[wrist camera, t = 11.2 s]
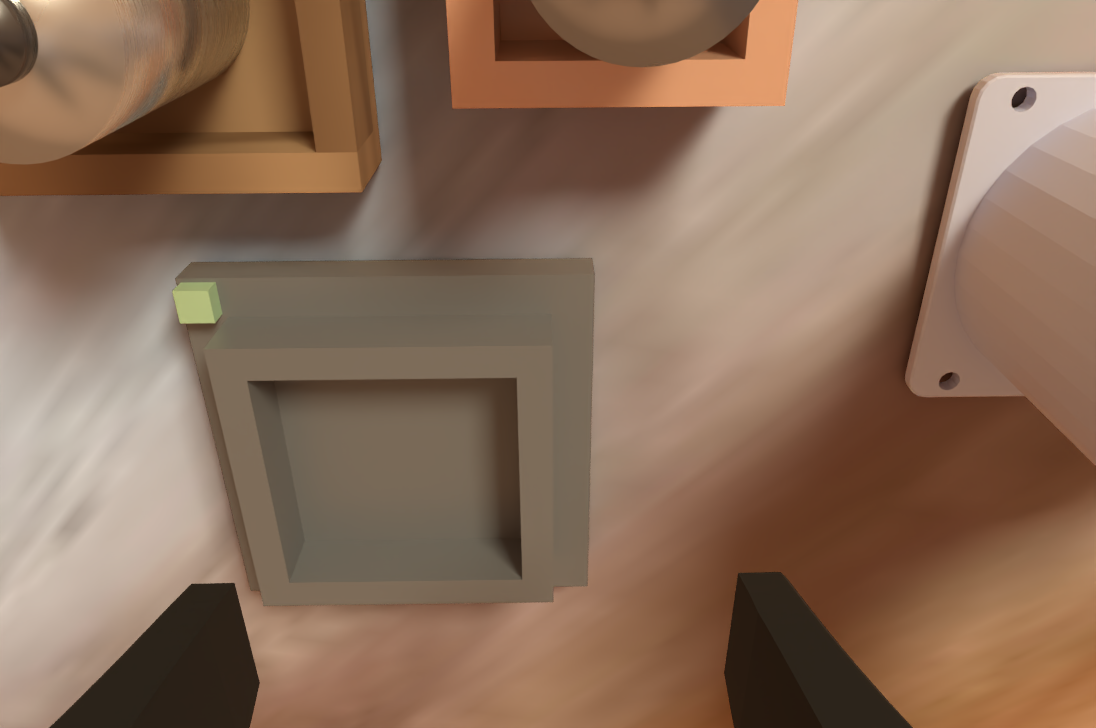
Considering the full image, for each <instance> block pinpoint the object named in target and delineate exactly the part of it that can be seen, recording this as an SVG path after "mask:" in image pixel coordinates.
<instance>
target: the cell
mask: <svg viewBox="0 0 1096 728" xmlns="http://www.w3.org/2000/svg"><path fill="white" fill-rule="evenodd" d="M249 18H250V4H249V0H0V163H7V164H25V165H27V164H37V163H45V162H49V161H53V160H57V159H60V158H62V157H65V156H67V155H70V154H72V153H74V152H76V151H78V150H80V149H82V148H84V147H85V146H87V145H89V144H91V143H93V142H95V141H97V140H99V139H101V138H103V137H105V136H106V135H108V134H110V133H112V132H114V131H116V130H118V129H120V128H122V127H124V126H125V125H127V124H129V123H131V122H133V121H135V120H137V119H139V118H141V117H143V116H144V115H146V114H148V113H150V112H152V111H154V110H156V109H158V108H160V107H162V106H164V105H165V104H167V103H169V102H171V101H173V100H175V99H177V98H179V97H181V96H183V95H184V94H186V93H188V92H190V91H192V90H194V89H196V88H198V87H200V86H202V85H203V84H205V83H207V82H209V81H211V80H213V79H214V78H216V77H218V76H219V75H220V74H222V73H223V72H224V71H225V70H226V69H228V67H229V66H230V65H231V64H232V63H233V62H234V60H235V59H236V57H237V56H238V54H239V52H240V51H241V48H242V46H243V44H244V42H245V38H246V35H247V31H248V26H249Z"/></svg>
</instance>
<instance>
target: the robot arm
mask: <svg viewBox="0 0 1096 728" xmlns="http://www.w3.org/2000/svg"><path fill="white" fill-rule="evenodd" d="M1023 87H1025V88H1026V89H1027V96H1026V98H1025V100H1024V102H1023V103H1022V104H1020V105H1019V106H1018V107H1015V108H1013V107H1012V106H1011V100H1012V98H1013V96H1014V94H1015V93H1016V92H1017V91H1018V90H1019V89H1020V88H1023ZM950 372H953V374H952V376H951V378H950V379H948V380H947V381H945V382H941V383H940V382H939V380H940V379H941V377H942V376H943V375H945V374H946V373H950ZM905 382H906V384H907V386H908V387H909V389H910V390H911V391H912V392H913V393H914V394H916V395H917V396H921V397H989V396H1025V397H1026V398H1027V399H1028V400H1029V401H1030V402H1031V403H1032V404H1033V405H1034V406H1035V407H1036V408H1037V409H1038V410H1039V411H1040V412H1041V413H1042V414H1043V415H1044V416H1045V417H1046V418H1048V419H1049V420H1050V421H1051V422H1052V423H1053V424H1054V425H1055V426H1056V427H1057V428H1058V429H1059V430H1060V431H1061V432H1062V433H1063V434H1064V435H1065V436H1066V437H1067V438H1068V439H1069V440H1070V441H1071V442H1072V443H1073V444H1074V445H1075V446H1076V447H1077V448H1078V449H1079V450H1080V451H1081V452H1082V453H1083V454H1084V455H1085V456H1086V457H1087V458H1088V459H1089V460H1090V461H1091V462H1092V463H1093V464H1094V465H1095V466H1096V72H1008V73H994V74H990V75H988V76H986V77H985V78H983V79H981V80H980V81H979V82H978V84H977V85H976V86H975V87H974V89H973V91H972V94H971V96H970V100H969V104H968V108H967V112H966V117H965V121H964V125H963V129H962V134H961V138H960V142H959V147H958V151H957V155H956V159H955V164H954V168H953V172H952V177H951V181H950V185H949V189H948V194H947V198H946V202H945V207H944V211H943V215H942V219H941V224H940V228H939V232H938V236H937V241H936V245H935V249H934V254H933V258H932V262H931V266H930V271H929V275H928V279H927V284H926V288H925V292H924V296H923V301H922V305H921V309H920V313H919V318H918V322H917V326H916V331H915V335H914V339H913V343H912V348H911V352H910V356H909V361H908V365H907V369H906V373H905ZM724 674H725V679H726V685H727V691H728V696H729V702H730V708H731V713H732V718H733V724H734V728H913V727H912V726H911V725H910V724H909V723H908V722H907V721H906V720H905V719H904V718H903V717H902V716H901V715H900V713H899V712H898V711H897V710H896V709H895V708H894V707H893V706H892V705H891V704H890V703H889V702H888V700H887V699H886V698H885V697H884V696H883V695H882V694H881V692H880V691H879V690H878V689H877V688H876V687H875V686H874V684H873V683H872V682H871V681H870V680H869V679H868V678H867V676H866V675H865V674H864V673H863V672H862V671H861V670H860V669H859V667H858V666H857V665H856V664H855V663H854V662H853V660H852V659H851V658H850V657H849V656H848V654H847V653H846V652H845V651H844V650H843V648H842V647H841V646H840V645H839V644H838V642H837V641H836V640H835V639H834V637H833V636H832V635H831V634H830V633H829V631H828V630H827V629H826V628H825V626H824V625H823V624H822V623H821V621H820V620H819V619H818V618H817V616H816V615H815V614H814V613H813V611H812V610H811V609H810V608H809V606H808V605H807V604H806V602H805V601H804V600H803V599H802V597H801V596H800V595H799V593H798V592H797V591H796V590H795V588H794V587H793V586H792V584H791V583H790V582H789V580H788V579H787V578H786V577H785V576H784V575H783V574H782V573H781V572H765V573H738V578H737V585H736V593H735V600H734V607H733V614H732V621H731V628H730V636H729V643H728V650H727V657H726V664H725V671H724ZM259 684H260V682H259V678H258V674H257V671H256V667H255V663H254V659H253V655H252V651H251V647H250V643H249V639H248V635H247V631H246V627H245V623H244V619H243V615H242V611H241V607H240V603H239V599H238V595H237V591H236V587H235V583H215V584H191V585H190V586H189V587H188V588H187V589H186V590H185V591H184V592H183V593H182V594H181V595H180V596H179V597H178V598H177V599H176V600H175V601H174V602H173V603H172V604H171V605H170V606H169V607H168V608H167V609H166V610H165V611H164V612H163V613H162V614H161V616H160V617H159V618H158V619H157V620H156V621H155V622H154V623H153V624H152V625H151V626H150V627H149V628H148V629H147V630H146V631H145V632H144V633H143V634H142V635H141V636H140V637H139V638H138V640H137V641H136V642H135V643H134V644H133V645H132V646H131V647H130V648H129V649H128V650H127V651H126V652H125V653H124V654H123V655H122V656H121V657H120V658H119V659H118V660H117V661H116V662H115V663H114V664H113V665H112V666H111V667H110V668H109V669H108V670H107V671H106V672H105V673H104V674H103V675H102V676H101V677H100V678H99V679H98V680H97V681H96V682H95V683H94V684H93V685H92V686H91V687H90V688H89V689H88V690H87V691H86V692H85V693H84V694H83V695H82V696H81V697H80V698H79V699H78V700H77V701H76V702H75V703H74V704H73V705H72V706H71V707H70V708H69V709H68V710H67V711H66V712H65V713H64V714H63V715H62V716H61V717H60V718H59V719H58V720H57V721H56V722H55V723H54V724H53V725H52V726H50V727H49V728H249V727H250V723H251V719H252V715H253V710H254V706H255V701H256V697H257V692H258V688H259Z"/></svg>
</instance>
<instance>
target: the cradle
mask: <svg viewBox="0 0 1096 728" xmlns="http://www.w3.org/2000/svg"><path fill="white" fill-rule="evenodd" d="M175 280H176V284H177V287H176V288H175V289H174V290H173V291H172V293H173V297H174V301H175V305H176V309H177V313H178V317H179V321H180V324H182V323H186V325H187V329H188V333H189V337H190V342H191V346H192V350H193V354H194V358H195V362H196V366H197V371H198V375H199V379H200V383H201V387H202V391H203V395H204V399H205V404H206V408H207V412H208V416H209V420H210V424H211V428H212V432H213V437H214V441H215V445H216V449H217V453H218V457H219V461H220V466H221V470H222V474H223V478H224V482H225V486H226V490H227V494H228V499H229V503H230V507H231V511H232V515H233V519H234V523H235V527H236V532H237V536H238V540H239V544H240V548H241V552H242V556H243V561H244V565H245V569H246V573H247V577H248V581H249V585H250V589H251V591H260V593H261V597H262V601H263V606H301V605H376V604H452V603H527V602H553V587H573V586H588V545H589V501H590V458H591V415H592V371H593V328H594V285H595V273H594V267H593V260H592V258H569V259H469V260H369V261H269V262H191V263H190V264H189V265H188V266H187V267H186V268H185V269H184V270H183V271H182V272H181V273H180V274H179V275H178V276H177V277H176V278H175Z"/></svg>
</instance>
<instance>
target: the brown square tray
mask: <svg viewBox="0 0 1096 728" xmlns="http://www.w3.org/2000/svg"><path fill="white" fill-rule="evenodd" d="M249 4H250V18H249V26H248V31H247V35H246V38H245V42H244V44H243V46H242V48H241V51H240V52H239V54H238V56H237V57H236V59H235V60H234V62H233V63H232V64H231V65H230V66H229V67H228V69H226V70H225V71H224V72H223V73H222V74H220V75H219V76H218V77H216V78H214V79H213V80H211V81H209V82H207V83H205V84H203V85H202V86H200V87H198V88H196V89H194V90H192V91H190V92H188V93H186V94H184V95H183V96H181V97H179V98H177V99H175V100H173V101H171V102H169V103H167V104H165V105H164V106H162V107H160V108H158V109H156V110H154V111H152V112H150V113H148V114H146V115H144V116H143V117H141V118H139V119H137V120H135V121H133V122H131V123H129V124H127V125H125V126H124V127H122V128H120V129H118V130H116V131H114V132H112V133H110V134H108V135H106V136H105V137H103V138H101V139H99V140H97V141H95V142H93V143H91V144H89V145H87V146H85V147H84V148H82V149H80V150H78V151H76V152H74V153H72V154H70V155H67V156H65V157H62V158H60V159H57V160H53V161H49V162H45V163H37V164H27V165H25V164H7V163H0V196H21V195H128V194H235V193H341V192H362V191H363V190H364V188H365V187H366V185H367V183H368V182H369V180H370V179H371V177H372V175H373V174H374V172H375V171H376V169H377V168H378V166H379V164H380V163H381V161H382V158H381V148H380V138H379V129H378V119H377V110H376V100H375V90H374V81H373V71H372V61H371V52H370V42H369V32H368V23H367V13H366V4H365V0H249Z"/></svg>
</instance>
